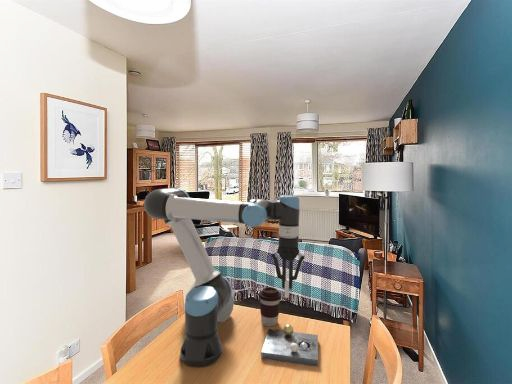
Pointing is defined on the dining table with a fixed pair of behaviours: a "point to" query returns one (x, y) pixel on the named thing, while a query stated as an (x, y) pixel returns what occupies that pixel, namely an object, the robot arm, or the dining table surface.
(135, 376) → the dining table surface
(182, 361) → the robot arm
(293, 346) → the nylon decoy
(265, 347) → the plate
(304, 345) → the steel ball
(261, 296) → the coffee cup
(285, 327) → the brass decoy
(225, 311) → the blue grey rounded piece
